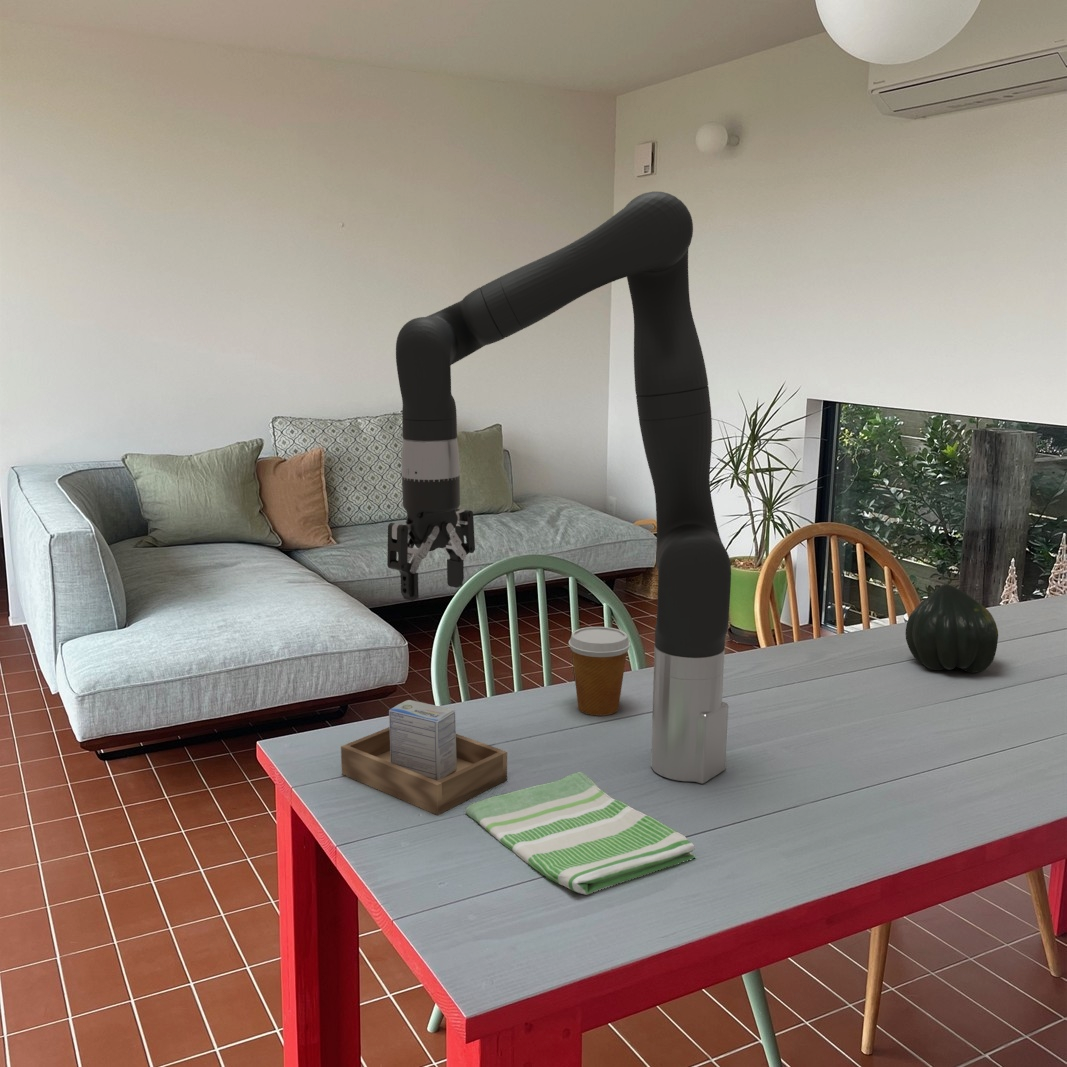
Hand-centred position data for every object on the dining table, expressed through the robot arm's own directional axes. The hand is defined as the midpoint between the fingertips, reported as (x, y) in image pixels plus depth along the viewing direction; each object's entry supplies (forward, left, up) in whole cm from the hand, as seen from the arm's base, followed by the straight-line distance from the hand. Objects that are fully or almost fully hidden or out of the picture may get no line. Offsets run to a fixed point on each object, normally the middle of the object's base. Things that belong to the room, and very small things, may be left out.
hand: (433, 592), depth 141 cm
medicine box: (-3, +5, -23) cm, 24 cm away
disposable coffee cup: (-6, -30, -24) cm, 39 cm away
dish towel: (-28, +4, -25) cm, 38 cm away
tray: (-3, +5, -24) cm, 25 cm away
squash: (-41, -86, -24) cm, 98 cm away
